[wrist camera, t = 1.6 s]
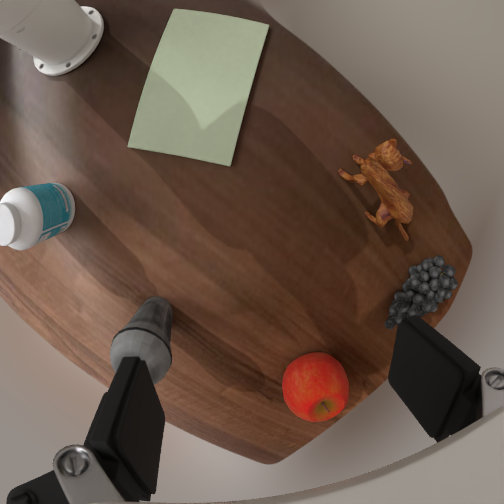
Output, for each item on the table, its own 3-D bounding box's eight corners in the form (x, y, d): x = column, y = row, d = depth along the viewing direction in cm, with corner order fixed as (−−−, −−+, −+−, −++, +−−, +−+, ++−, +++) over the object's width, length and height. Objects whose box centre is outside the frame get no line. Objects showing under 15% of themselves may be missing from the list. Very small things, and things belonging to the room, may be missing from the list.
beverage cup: (183, 332, 42) (167, 433, 23) (137, 330, 41) (99, 425, 22) (180, 287, 40) (155, 378, 21) (131, 287, 40) (77, 370, 20)
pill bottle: (47, 174, 34) (-10, 179, 21) (84, 194, 35) (31, 206, 22) (33, 220, 35) (-23, 240, 22) (67, 241, 37) (16, 269, 24)
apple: (291, 401, 49) (305, 443, 38) (266, 364, 45) (278, 408, 35) (344, 375, 48) (367, 413, 38) (326, 334, 45) (351, 372, 35)
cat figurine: (416, 224, 42) (474, 244, 29) (391, 253, 43) (446, 282, 30) (351, 136, 38) (406, 124, 24) (321, 166, 38) (369, 164, 25)
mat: (128, 147, 35) (127, 146, 34) (174, 10, 30) (173, 8, 29) (230, 166, 37) (230, 166, 36) (268, 26, 32) (269, 24, 31)
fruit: (410, 354, 38) (472, 282, 36) (379, 320, 38) (445, 245, 36) (394, 336, 46) (448, 275, 44) (365, 306, 47) (422, 243, 45)
